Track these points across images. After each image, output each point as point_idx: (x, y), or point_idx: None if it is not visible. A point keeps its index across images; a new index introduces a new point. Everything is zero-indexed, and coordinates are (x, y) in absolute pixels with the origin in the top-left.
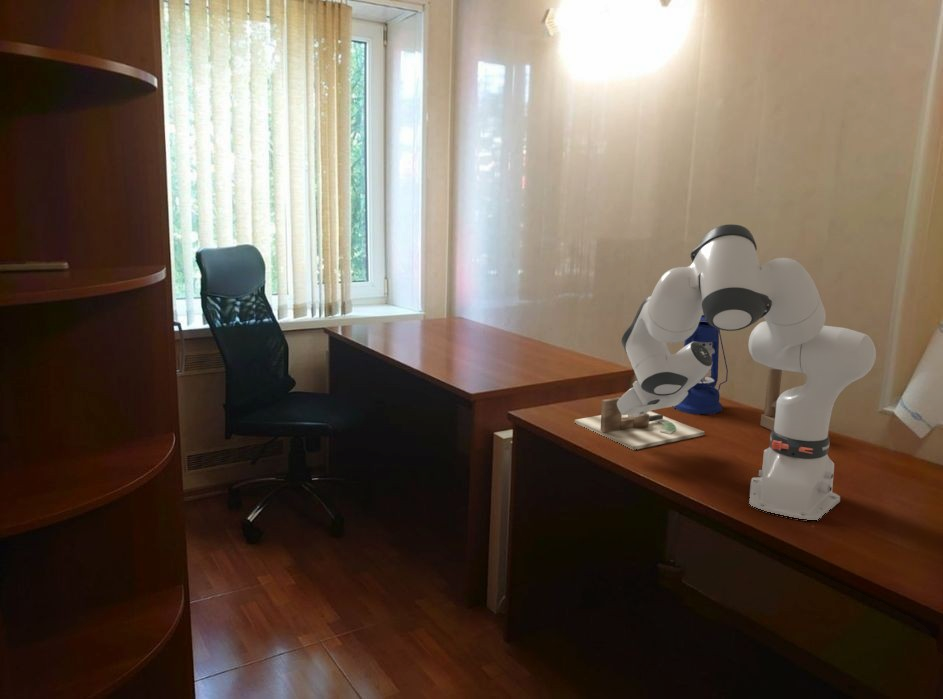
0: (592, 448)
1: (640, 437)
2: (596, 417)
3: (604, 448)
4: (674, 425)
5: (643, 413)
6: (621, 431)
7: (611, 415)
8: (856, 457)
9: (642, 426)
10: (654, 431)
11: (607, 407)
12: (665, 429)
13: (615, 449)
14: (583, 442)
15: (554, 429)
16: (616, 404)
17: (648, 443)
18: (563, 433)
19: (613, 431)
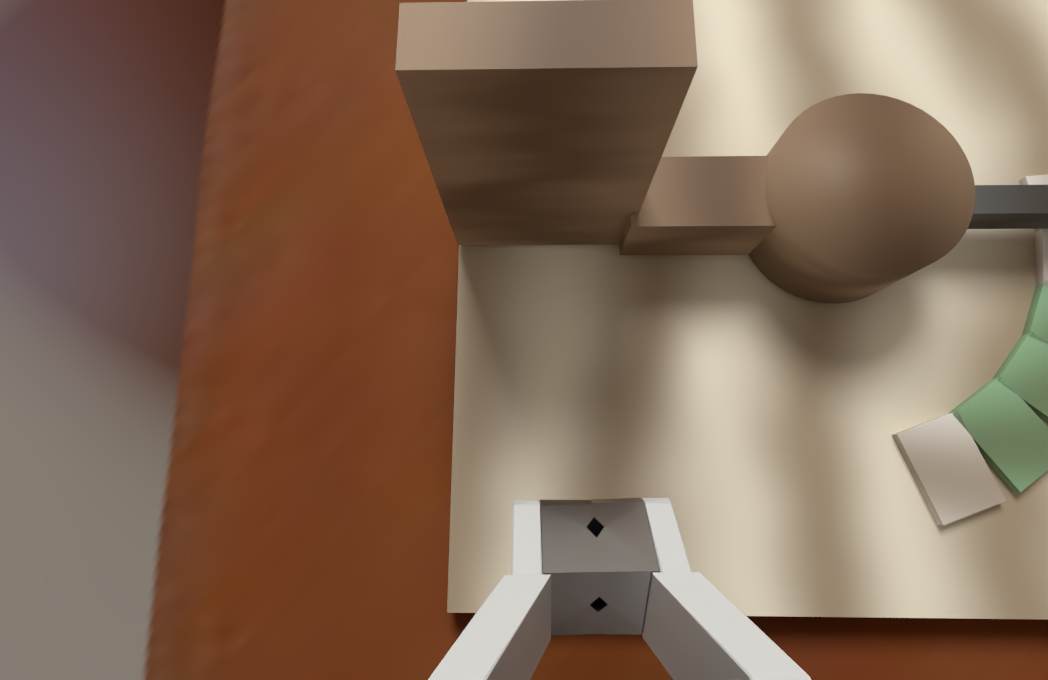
0: (219, 416)
1: (652, 460)
2: None
3: (293, 459)
4: None
5: (626, 632)
6: (607, 276)
7: (519, 181)
8: None
9: (813, 295)
10: (858, 398)
11: (448, 126)
12: (971, 422)
13: (348, 518)
14: (255, 285)
15: (272, 2)
16: (587, 113)
17: None
18: (268, 85)
19: (551, 248)
